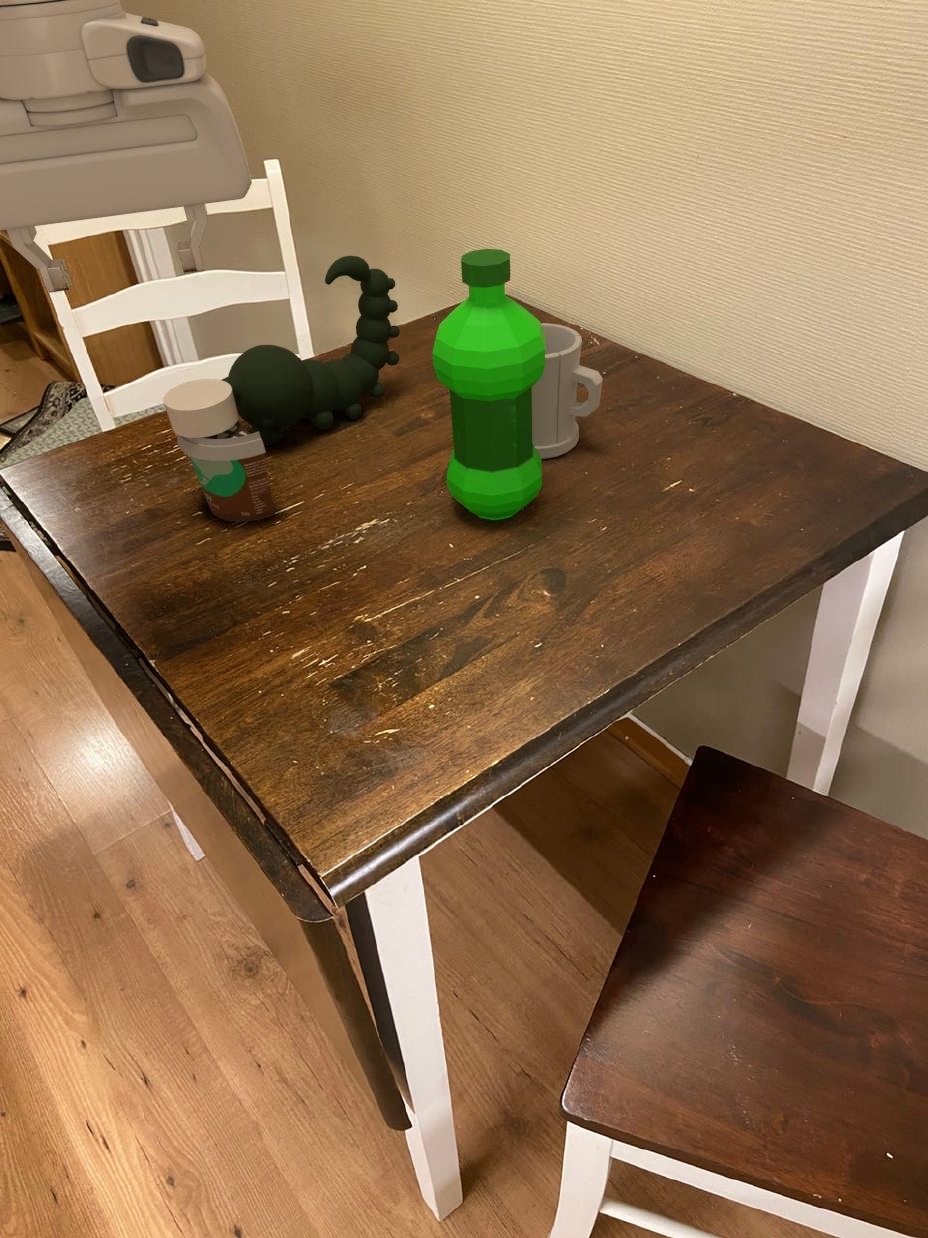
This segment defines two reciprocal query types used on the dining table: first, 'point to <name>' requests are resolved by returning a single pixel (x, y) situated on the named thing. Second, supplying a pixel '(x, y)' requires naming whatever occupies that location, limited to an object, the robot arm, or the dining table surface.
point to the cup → (561, 393)
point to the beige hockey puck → (201, 408)
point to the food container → (232, 473)
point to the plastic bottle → (491, 390)
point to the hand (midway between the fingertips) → (128, 279)
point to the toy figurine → (319, 366)
